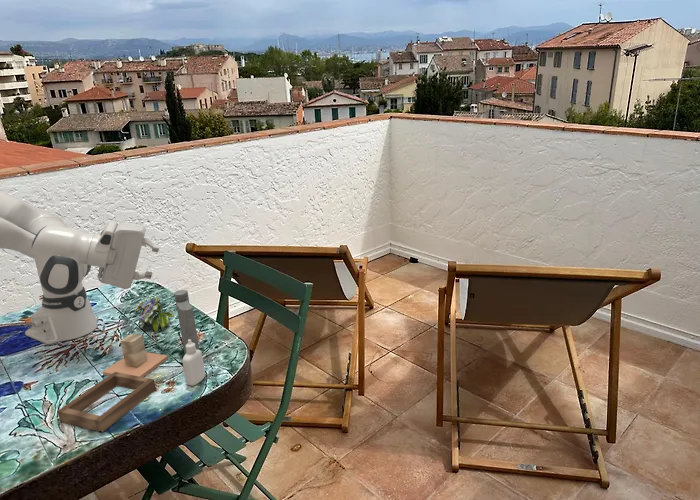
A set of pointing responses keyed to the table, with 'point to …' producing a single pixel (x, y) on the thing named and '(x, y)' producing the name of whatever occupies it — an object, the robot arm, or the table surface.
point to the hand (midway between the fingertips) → (155, 262)
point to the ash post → (133, 350)
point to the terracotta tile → (142, 370)
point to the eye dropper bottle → (193, 364)
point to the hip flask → (186, 318)
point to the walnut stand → (101, 423)
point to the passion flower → (149, 312)
